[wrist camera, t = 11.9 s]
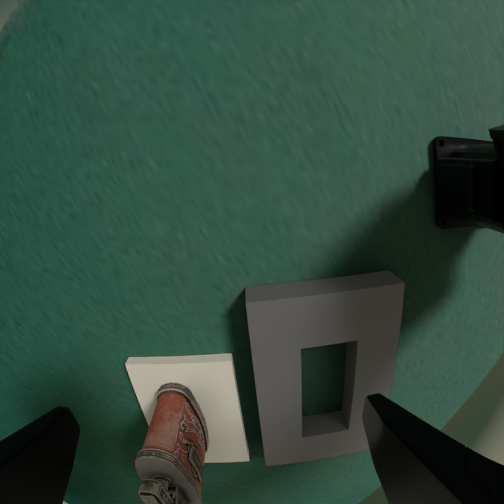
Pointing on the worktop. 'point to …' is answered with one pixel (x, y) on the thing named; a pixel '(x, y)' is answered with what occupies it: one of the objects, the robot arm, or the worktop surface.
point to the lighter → (173, 449)
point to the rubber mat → (198, 397)
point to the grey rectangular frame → (313, 335)
